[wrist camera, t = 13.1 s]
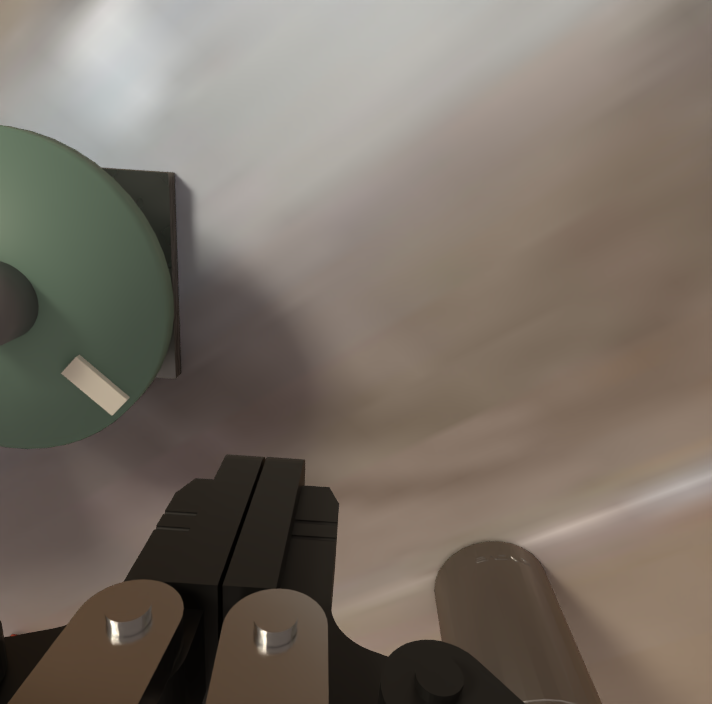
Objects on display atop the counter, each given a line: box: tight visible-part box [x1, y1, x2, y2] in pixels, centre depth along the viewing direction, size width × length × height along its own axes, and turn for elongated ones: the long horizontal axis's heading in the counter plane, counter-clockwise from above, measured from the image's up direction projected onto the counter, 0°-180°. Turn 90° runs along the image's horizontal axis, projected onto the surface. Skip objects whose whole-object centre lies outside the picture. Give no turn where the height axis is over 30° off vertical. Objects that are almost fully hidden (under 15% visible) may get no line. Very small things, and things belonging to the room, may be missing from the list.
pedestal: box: [102, 168, 181, 379], centre depth 36 cm, size 14×14×7 cm
